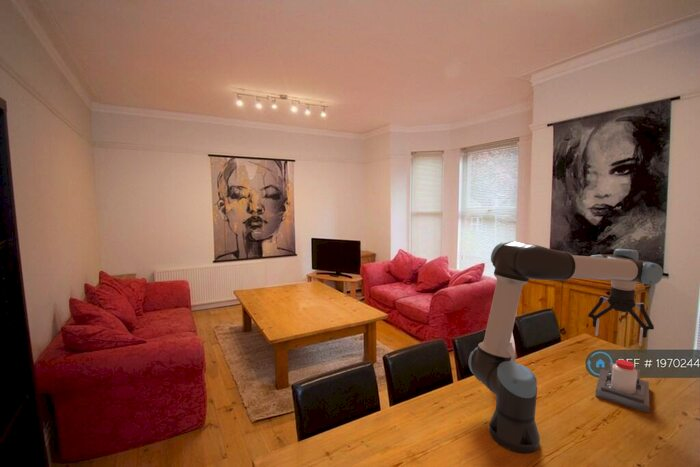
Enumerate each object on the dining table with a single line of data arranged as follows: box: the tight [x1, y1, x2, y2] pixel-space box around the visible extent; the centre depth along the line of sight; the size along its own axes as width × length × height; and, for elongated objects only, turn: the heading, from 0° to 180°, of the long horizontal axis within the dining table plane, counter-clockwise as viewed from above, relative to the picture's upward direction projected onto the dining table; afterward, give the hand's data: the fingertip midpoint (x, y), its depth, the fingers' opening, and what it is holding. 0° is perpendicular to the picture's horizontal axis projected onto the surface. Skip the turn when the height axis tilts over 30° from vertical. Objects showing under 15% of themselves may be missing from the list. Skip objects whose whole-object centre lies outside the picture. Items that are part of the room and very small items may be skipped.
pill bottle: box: [611, 359, 637, 394], centre depth 132 cm, size 8×8×11 cm
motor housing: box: [595, 362, 650, 414], centre depth 135 cm, size 22×16×10 cm
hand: (617, 339), depth 132 cm, fingers open, 13 cm apart
